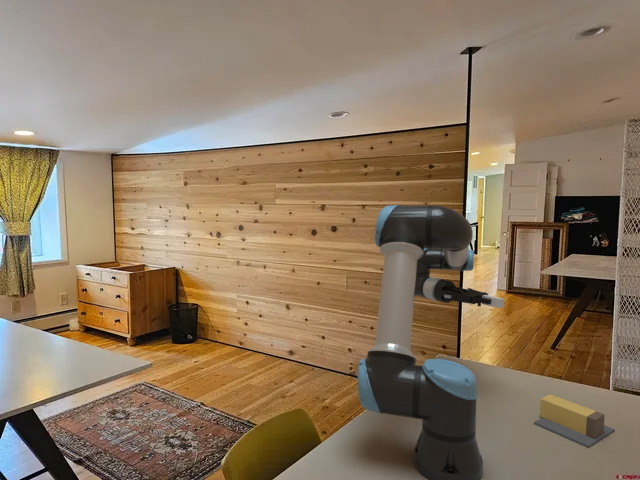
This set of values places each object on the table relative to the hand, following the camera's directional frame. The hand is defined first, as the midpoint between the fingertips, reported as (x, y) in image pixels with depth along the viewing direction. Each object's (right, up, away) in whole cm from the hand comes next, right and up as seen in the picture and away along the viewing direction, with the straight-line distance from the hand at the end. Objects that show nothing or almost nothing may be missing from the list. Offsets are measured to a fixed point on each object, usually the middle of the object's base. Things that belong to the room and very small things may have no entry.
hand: (502, 303), depth 127 cm
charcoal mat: (+14, -31, -12) cm, 36 cm away
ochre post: (+9, -28, -6) cm, 30 cm away
